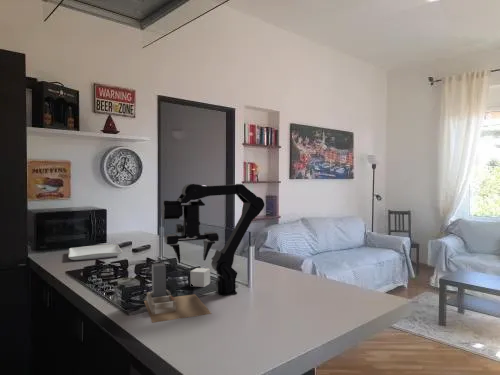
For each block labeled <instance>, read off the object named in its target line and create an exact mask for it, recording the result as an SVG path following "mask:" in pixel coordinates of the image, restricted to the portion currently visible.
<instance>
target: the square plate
mask: <svg viewBox="0 0 500 375" xmlns="http://www.w3.org/2000/svg"><path fill="white" fill-rule="evenodd" d="M122 253H123V250H122V249H121V248H120V246H119V244H117V243H116V244H97V245H87V246H78V247H77V246H76V247H70V248H68V259H69V260H72V261H85V260H95V259H98V260H99V259H107V258H114V257H115V258H116V257H118V256H120V255H121V254H122Z"/></svg>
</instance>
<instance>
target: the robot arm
mask: <svg viewBox="0 0 500 375" xmlns="http://www.w3.org/2000/svg"><path fill="white" fill-rule="evenodd" d="M227 195H236V196H237V198H238V199H239V200H240V201H241V202H242V203H243V205H242V208H241V215H240V217H239V219H238V221H237V223H236V224H235V226H234V228H233V230H232V232H231V233H230V236H229V238H228V239H227V241H226V243H225V245H224V246H223V248H222V249H220V250H218V249H216V250H215V251H214V252H215V253H214V255H213V257H211V268H212V269H213V270H214V271H215V273H216V275H217V277H216V278H217V279H216V281H215V292H216V293H217V294H218V295H219V296H221V297H222V296H223V297H224V296H231V295H237V294H238V292H237V291H236V288H237V287H236V284H237V283H236V282H237V281H236V279H237V276H238V272H237V271H236V270H235V269H234V268H233V265H234V258H235V253H236V251H237V249H238V247H239V246H240V244H241V242H242V240H243V238H245V235H246V233H247V231H248V229H249V227H250V225H251V224H252V222H253V220H255V218H256V217H258V216H259V215H260V214H261V212H262V211H263V209H264V208H265V204H266V203H265V201H264V199H263V198H262V197H260V196H257V195H256V193H254V192H253V191H251V190H250V189H248V187H246V185H244V184H243V183H235V184H222V185H220V184H219V185H204V184H198V183H187V184H185V185H184V186H183V187H182V189H181V193H180V195H179V197H178V198H177V199H176V200H167V199H166V200H163V201H162V205H161V206H162V207H161V218H162V220H163V221H167V220H168V221H169V220H180V218H181V217H182V216H183V217H182V218H183V220H182V221H183V222H182V223H177V224H175V233H172V234H165V235H164V237H163V238H164V239H163V240H164V243H165V244H166V245H168V246H169V247H171V248H172V249H173V251H174V253H175V256H176V259H177V262H178V263H179V264H181V248H180V244H179V242H187V241H188V242H189V241H200V240H203V254H202V258H203V259H202V260H203V261H206V259H207V257H208V254H209V252H210V251H211V248H212V246H213V245H214V244H216V242H218V241H220V240H219V238H220V236H219V233H217V232H216V231H205V232H204V233H203V234H201V232H200V230H201V229H200V228H201V226H200V225H201V221H200V207H204V206H206V204H205V202H203V201H202V199H205V198H207V197H212V196H227ZM195 200H196V201H195ZM177 234H180V235H177Z"/></svg>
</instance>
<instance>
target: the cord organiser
mask: <svg viewBox="0 0 500 375" xmlns="http://www.w3.org/2000/svg"><path fill="white" fill-rule="evenodd" d="M143 302H144V305H145V307H146V310H147V313H148V315H149V318H150V321H151V322H152V323H158V322H165V321H171V320H179V319H185V318H193V317H197V316H198V317H199V316H205V315H212V312H211V311H210V310H209V308H208V307H207V306H206V305H205V304H204V302H203V301H202V300H201V299H200V298H199V297H198V296H197V295H196V294H195V293H194V294H187V295H179V296H173V295H172V292H171V291H170V290H168V289H166V296H161V297H154V298H152V291H148V292H146V300H144V301H143Z"/></svg>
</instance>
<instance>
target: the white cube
mask: <svg viewBox="0 0 500 375" xmlns="http://www.w3.org/2000/svg"><path fill="white" fill-rule="evenodd" d="M189 279H190V285H191V284H192V285H193V286H192V287H198V288H199V287H201V288H205V287H206V286H208V285H210V284H211V269H210V268H204V267H196V268H194V269H192V270H190V277H189Z"/></svg>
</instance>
